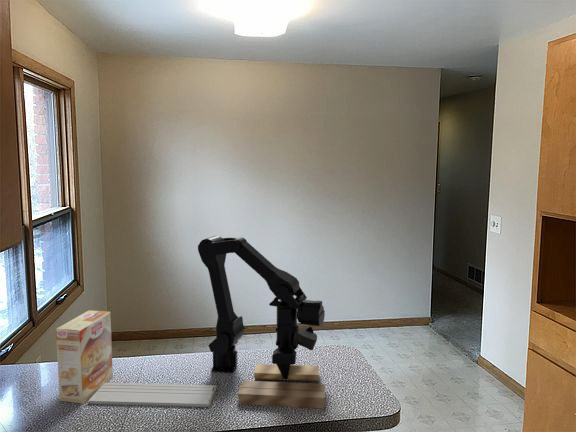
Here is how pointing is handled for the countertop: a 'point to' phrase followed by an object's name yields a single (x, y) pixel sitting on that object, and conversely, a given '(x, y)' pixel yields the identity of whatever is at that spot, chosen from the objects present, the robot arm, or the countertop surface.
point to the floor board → (282, 394)
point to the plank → (294, 373)
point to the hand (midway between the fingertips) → (286, 374)
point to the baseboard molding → (154, 394)
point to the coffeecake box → (84, 355)
